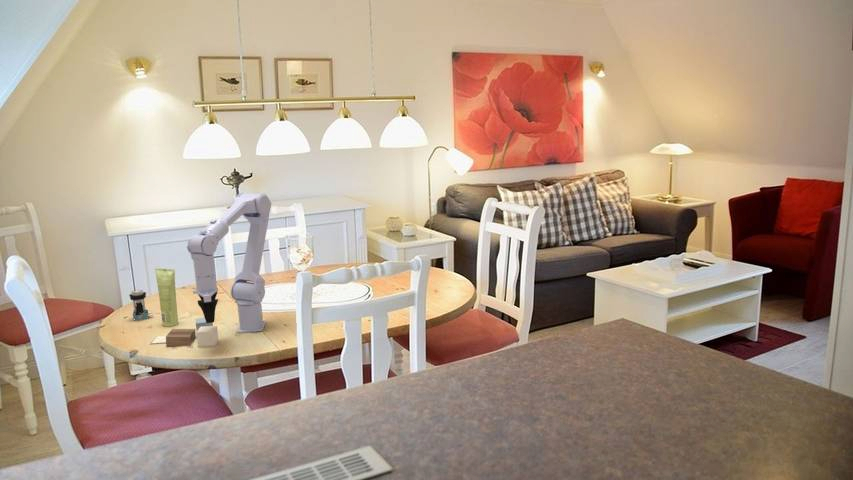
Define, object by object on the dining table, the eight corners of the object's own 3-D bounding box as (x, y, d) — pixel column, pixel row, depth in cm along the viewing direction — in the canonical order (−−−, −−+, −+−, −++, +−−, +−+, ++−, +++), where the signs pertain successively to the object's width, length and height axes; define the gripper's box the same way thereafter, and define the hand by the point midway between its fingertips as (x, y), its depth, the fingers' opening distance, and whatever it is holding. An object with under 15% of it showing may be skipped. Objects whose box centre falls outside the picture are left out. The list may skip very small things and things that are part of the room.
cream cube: (202, 342, 207) (200, 326, 206) (218, 340, 207) (216, 325, 206) (198, 347, 202) (196, 332, 201) (215, 346, 202) (213, 331, 201)
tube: (179, 321, 227) (172, 265, 223) (181, 325, 223) (174, 268, 219) (161, 324, 225) (154, 268, 221) (163, 328, 220) (155, 271, 216)
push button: (154, 315, 235) (150, 287, 233) (152, 319, 230) (148, 292, 228) (133, 317, 233) (130, 290, 231) (131, 322, 228) (127, 294, 226)
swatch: (156, 337, 212) (156, 336, 212) (178, 335, 213) (178, 334, 213) (149, 345, 205) (149, 343, 205) (172, 343, 206) (172, 342, 206)
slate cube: (197, 333, 214) (195, 318, 213) (213, 331, 216) (211, 316, 215) (197, 338, 210) (195, 323, 209) (214, 336, 211) (212, 321, 210)
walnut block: (172, 337, 210) (172, 328, 209) (195, 338, 210) (195, 328, 210) (166, 346, 203) (165, 336, 202) (189, 346, 204) (189, 336, 203)
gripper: (191, 270, 202) (196, 313, 205) (190, 282, 189) (195, 328, 192) (215, 267, 205) (220, 310, 207) (216, 279, 191) (221, 324, 194)
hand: (210, 318), depth 200 cm, fingers open, 7 cm apart
